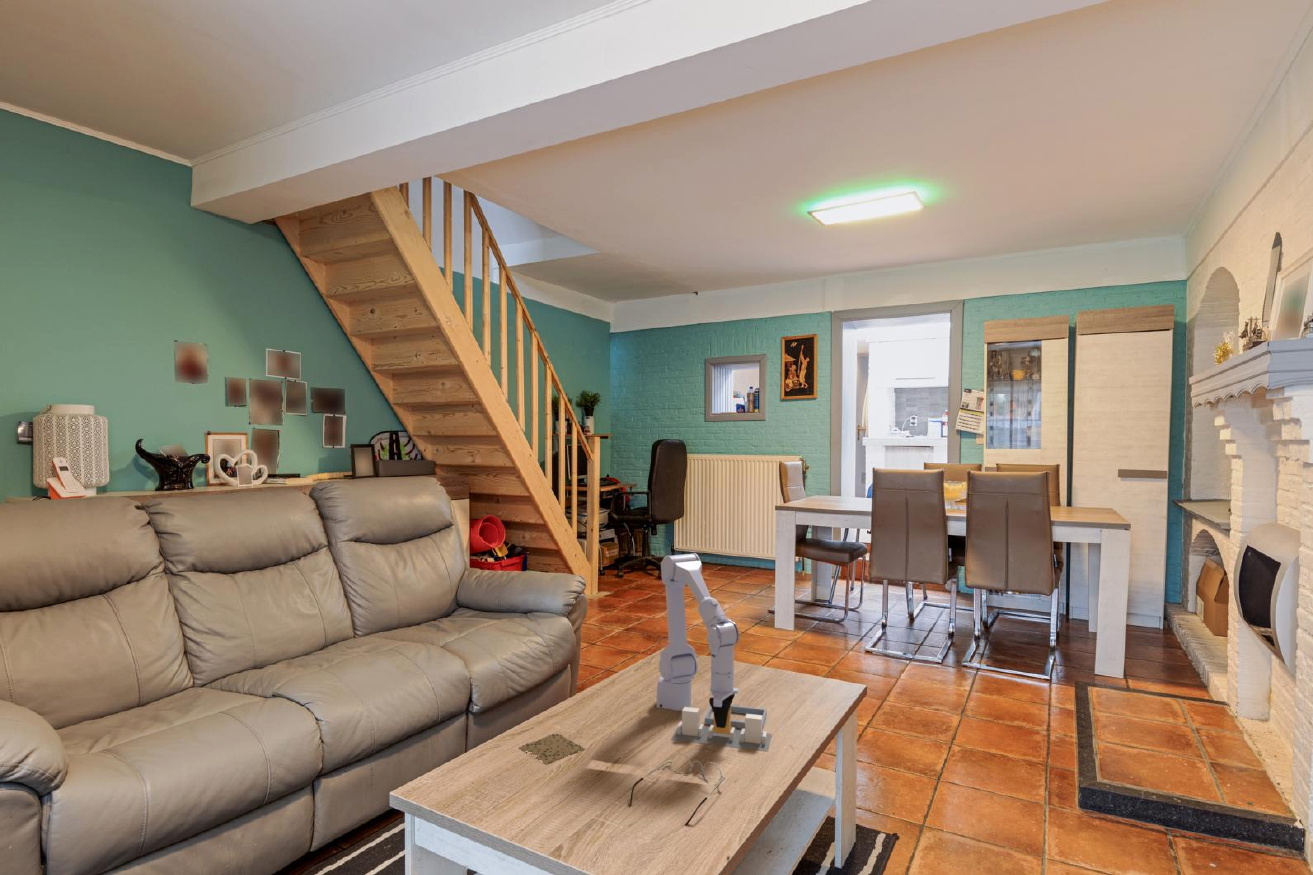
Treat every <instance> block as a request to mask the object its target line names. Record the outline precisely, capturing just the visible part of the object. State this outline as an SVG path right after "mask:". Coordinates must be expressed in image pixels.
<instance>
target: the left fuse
mask: <svg viewBox="0 0 1313 875" xmlns="http://www.w3.org/2000/svg"><path fill="white" fill-rule="evenodd" d="M700 712H701V711H700V708H698V707H692V706H691V707H684V708H683V710H681V721H682V734H684V735H692V736H698V730H699V727H700V725H701V723H700V721H701V720H700V718H701V717H700V716H701V713H700Z"/></svg>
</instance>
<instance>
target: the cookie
mask: <svg viewBox="0 0 1313 875" xmlns="http://www.w3.org/2000/svg"><path fill="white" fill-rule="evenodd" d="M518 749H519V750H520V749H521V750H520V751H522V750H523V751H528V752H532V753H530V754H531V755H532V754H533V755H537V757H536V759H538V760H542V761H543V763H544V764H545V765H544V764H543V763H542V764H543V765H544V766H547V765H549V763H550V764H552V763H554V761H555V760H558V761H560V760H562V759H565V758H566V756H567V757H569V756H568V755H570V756H572V755H574V754H577V753H579V752H578V751H580V752H582V751H584V750H585V748H584V747H583V746H582V745H580V744H578V743H576V742H574V741H572V740H570V739H568V738H567V737H565V736H563V735H562V734H560V733H551V734H549V735H547V736H545V737H543V738H539V739H537V740H534V741H532V742H528V743H525V744H523V745H522V746H520V747H518ZM523 751H522V752H523ZM538 755H539V756H538ZM564 757H565V758H564ZM536 759H535V760H536ZM538 760H537V761H538ZM555 762H556V761H555Z"/></svg>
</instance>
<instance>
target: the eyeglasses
mask: <svg viewBox="0 0 1313 875" xmlns="http://www.w3.org/2000/svg"><path fill="white" fill-rule="evenodd" d="M678 755H681V756H684V757H685V758H686V759H687V760H688V763H689V769H688V773H686V774H683V775H682V776H683V777H688V776H690V775H691V772H693V767H694V763H699V765H700V770H699V771H698V772H699V774H700V776H701V777H702V779H703V780H704V782H705V783H707V784H709V781H708V780H707V779H706V777H705V773H704V770H705V766H706V765H707V764H713V765H715V766H716V767H717V768H718V770H719V774H720V779H719V781H718V783H716V784H714V786H715V787H714V788H713V789H712V790H711V791H710V792H709V794H708V795H707V796H705V798H704V799H703V800H702V801H701V802H700V803H699V804H698V806H697V807H696V809H695V811H693V813H692V815H691V816H690V818H688V820H687V821H686V823H685V824H684V826H687V825H689V823H690V822H691V820H692V819H693V817H694V816H695V814H696V812H698V810H699V808H700V807H701V806H702V805H703V804H704V803H705V802H706V801H707V800H708V798H709V796H711V795H712V794H713V793H714V792H715V790H717V788H718V787H719V786H720V785H721V783H722V782H723V781H724V780H725V779H726V776H725V775H723V774H722V771H721V768H720V767H719V765H718V764H717V763H715V762H713V761H709V762H707V763H705V764H704V765H702V763H701V761H700V760H694V761H692V762H691V760H690V758H688V756H687V755H685V754H683V753H677V754H675V755H674V756H673V757H672V759H671V760H666V761H665V762H663V764H661V765H659V766H658V767H656V768H655V769H653V770H652V771H651V772H649V773H648V774H646V775H645V776H644V777H641V778H640V779H638V780H637V781H636V782H635V783H634V784H633V786H632V790H631V794H630V800H629V801H630V802H629V808H631V807H632V802H633V796H634V790H635V787H636V786H637V785H638V784H639V783H641V782H642V781H643V780H644V779H646V777H648V776H650V775H652V774H653V773H655V772H656V771H658V770H660V769H661V768H662V767H664V766H665V765H667V764H670V765H671V766H673V760H674V758H675V757H676V756H678ZM673 772H674V774H675V775H678V772H677V771H676V770H673Z"/></svg>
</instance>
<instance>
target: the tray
mask: <svg viewBox="0 0 1313 875" xmlns="http://www.w3.org/2000/svg"><path fill="white" fill-rule="evenodd" d="M730 707H731V713H736V714H737V713H738V714H745V715H746V714H754V715H763V720H762V732H764V727H765V723H766V719H767V708H760V707H759V708H757V707H751V706H749V707H748V706H738V705H731V706H730ZM712 714H713V710H712V707H711V706H709V707H708V710H707V712H706V714H705V717H704V725H708V726H709V725H710V726H711V725H714V717H711V716H712ZM732 727H734V728H735V729H742V728H743V729H745V721H743V720H742V721H741V720H733V719H731V728H732Z"/></svg>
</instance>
